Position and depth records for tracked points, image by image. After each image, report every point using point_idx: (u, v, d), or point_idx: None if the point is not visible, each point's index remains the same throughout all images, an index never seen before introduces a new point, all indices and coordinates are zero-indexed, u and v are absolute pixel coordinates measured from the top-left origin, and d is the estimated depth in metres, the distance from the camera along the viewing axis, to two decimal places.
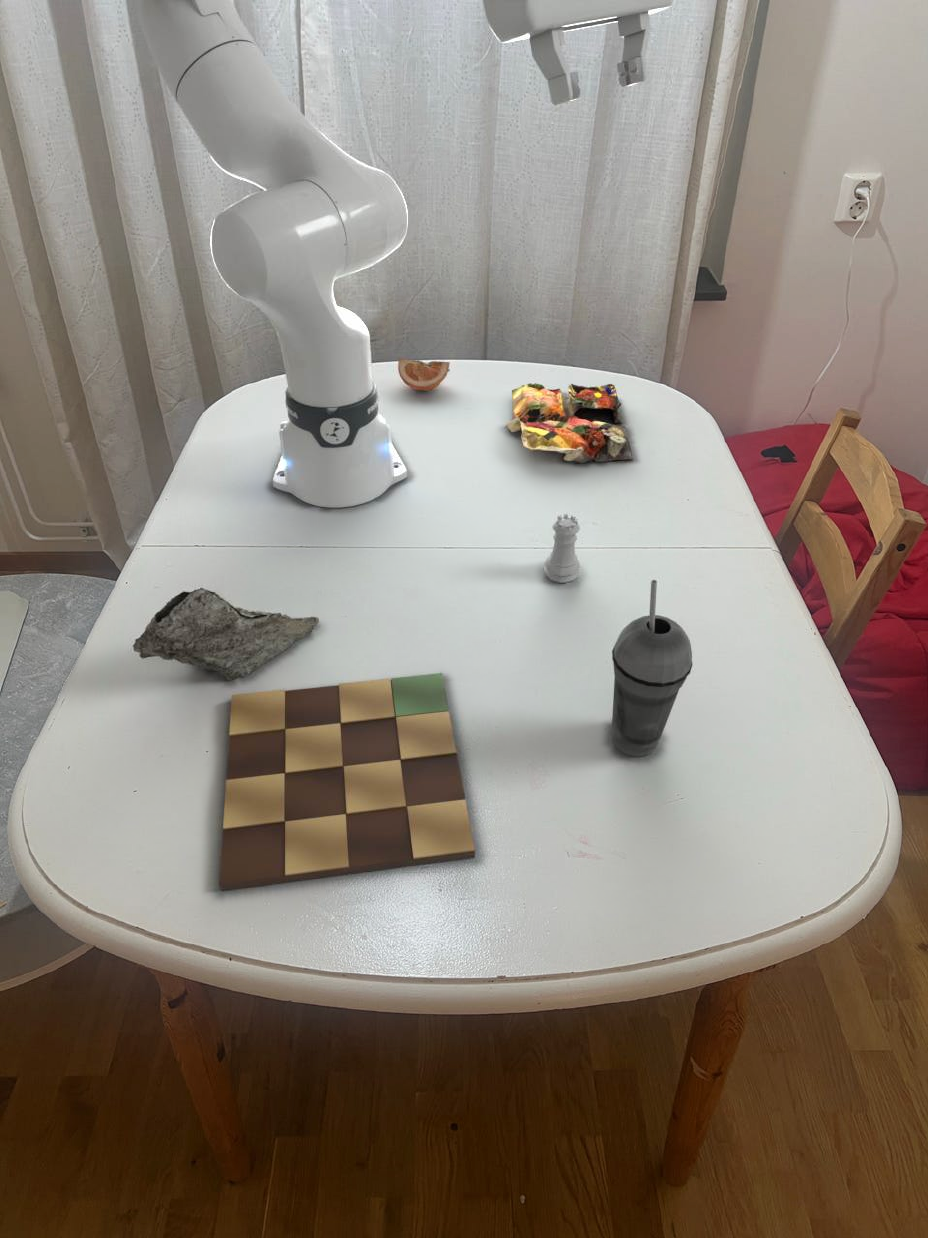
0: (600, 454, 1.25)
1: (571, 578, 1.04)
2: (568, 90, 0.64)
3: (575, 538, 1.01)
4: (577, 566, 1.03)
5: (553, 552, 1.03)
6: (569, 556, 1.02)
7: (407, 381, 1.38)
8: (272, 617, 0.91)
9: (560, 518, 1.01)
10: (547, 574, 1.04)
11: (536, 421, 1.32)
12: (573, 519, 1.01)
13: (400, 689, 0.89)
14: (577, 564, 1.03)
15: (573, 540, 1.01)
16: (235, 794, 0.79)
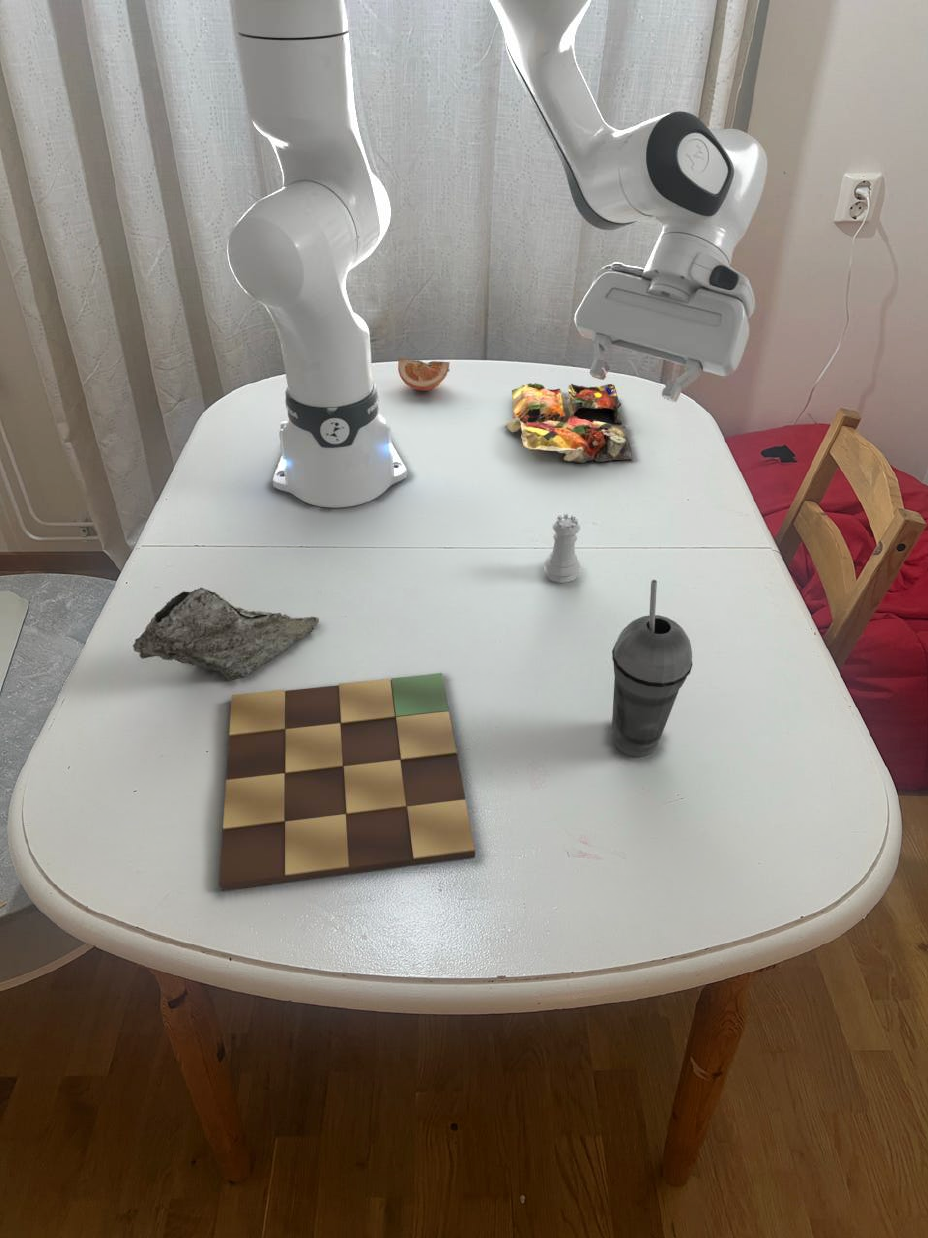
0: (600, 454, 1.25)
1: (571, 578, 1.04)
2: None
3: (575, 538, 1.01)
4: (577, 566, 1.03)
5: (553, 552, 1.03)
6: (569, 556, 1.02)
7: (407, 381, 1.38)
8: (272, 617, 0.91)
9: (560, 518, 1.01)
10: (547, 574, 1.04)
11: (536, 421, 1.32)
12: (573, 519, 1.01)
13: (400, 689, 0.89)
14: (577, 564, 1.03)
15: (573, 540, 1.01)
16: (235, 794, 0.79)
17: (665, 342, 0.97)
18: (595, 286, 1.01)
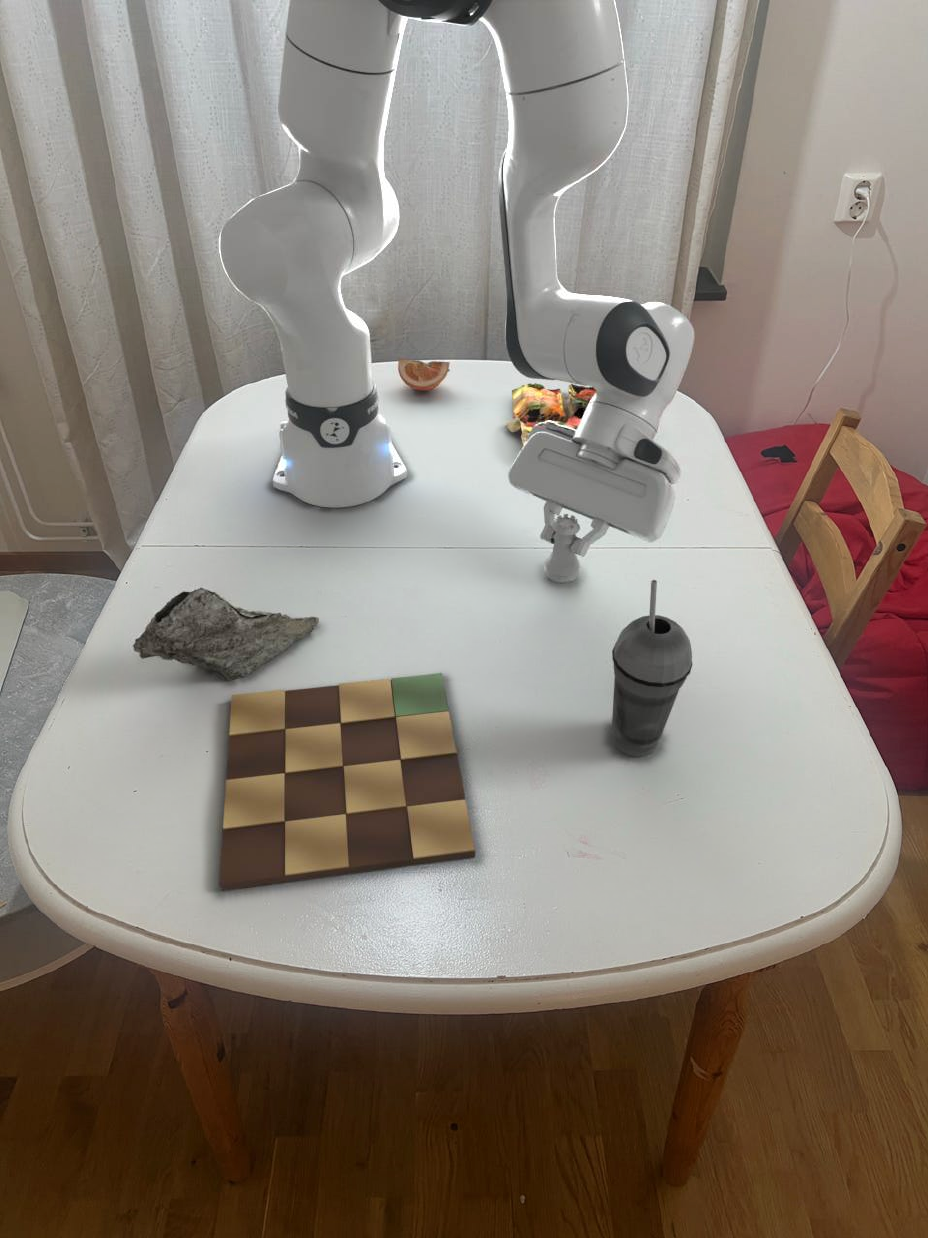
0: None
1: (571, 578, 1.04)
2: None
3: None
4: (577, 566, 1.03)
5: (553, 552, 1.03)
6: (569, 556, 1.02)
7: (407, 381, 1.38)
8: (272, 617, 0.91)
9: (560, 518, 1.01)
10: (547, 574, 1.04)
11: (536, 421, 1.32)
12: (573, 519, 1.01)
13: (400, 689, 0.89)
14: (577, 564, 1.03)
15: (573, 540, 1.01)
16: (235, 794, 0.79)
17: (593, 508, 0.99)
18: (528, 445, 1.04)
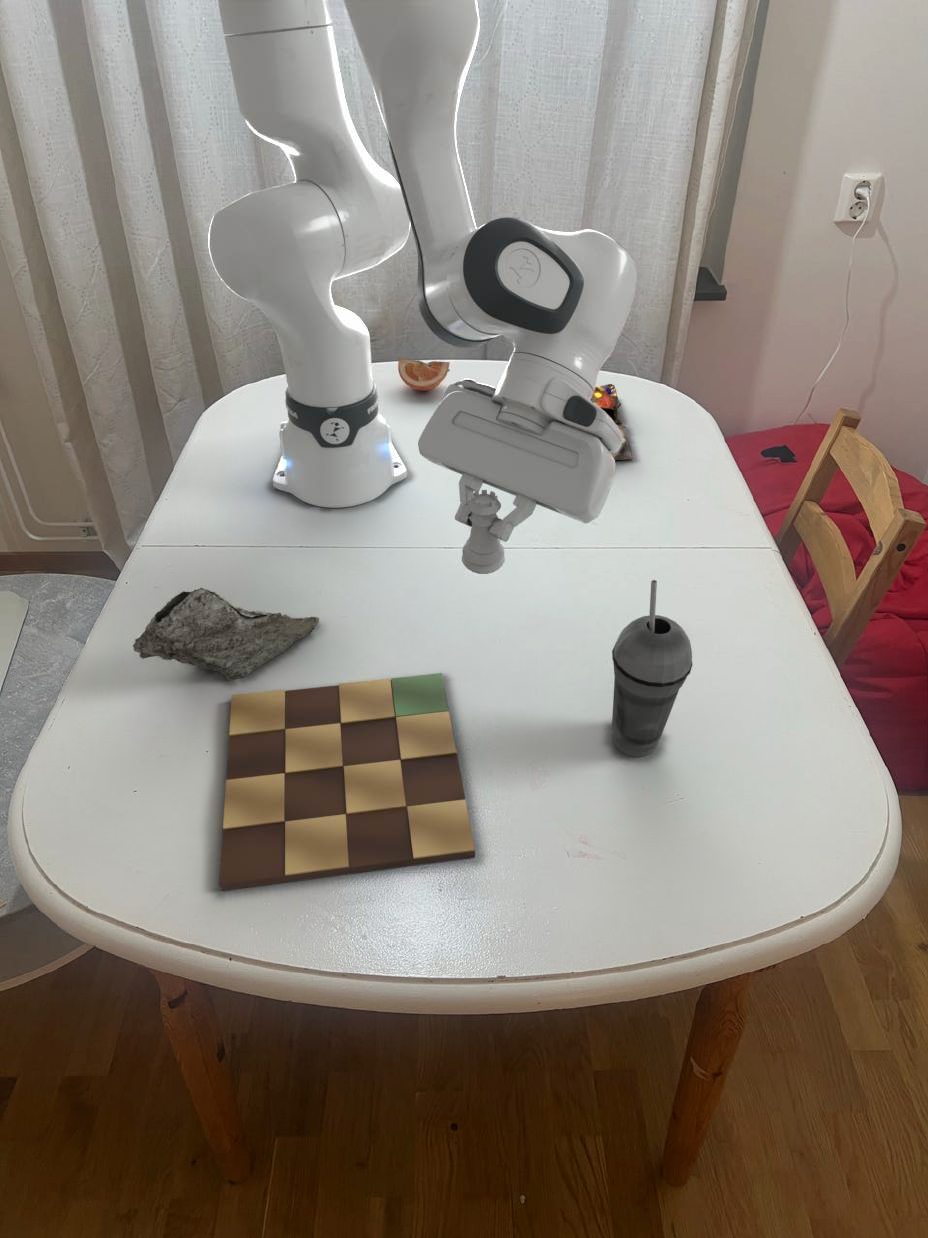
0: None
1: (494, 568, 0.86)
2: (509, 536, 0.84)
3: None
4: (500, 553, 0.86)
5: (471, 536, 0.85)
6: (489, 541, 0.84)
7: (407, 381, 1.38)
8: (272, 617, 0.91)
9: (477, 495, 0.83)
10: (465, 563, 0.86)
11: None
12: (493, 496, 0.83)
13: (400, 689, 0.89)
14: (500, 551, 0.86)
15: (493, 521, 0.83)
16: (235, 794, 0.79)
17: (516, 482, 0.81)
18: (441, 408, 0.86)
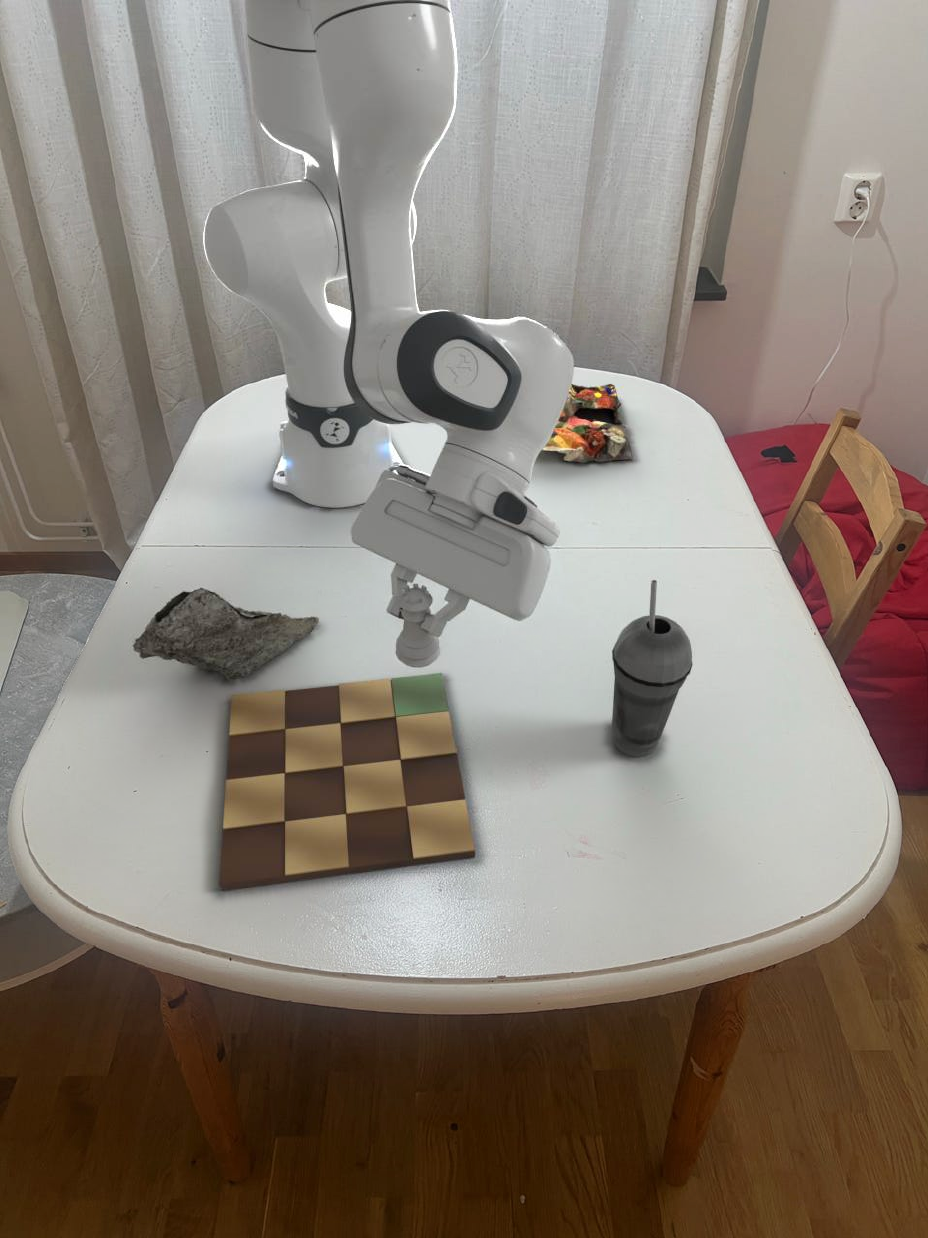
0: (600, 454, 1.25)
1: (427, 662, 0.83)
2: (442, 631, 0.81)
3: None
4: (434, 647, 0.83)
5: (403, 630, 0.82)
6: (422, 636, 0.81)
7: None
8: (272, 617, 0.91)
9: (408, 589, 0.80)
10: (398, 656, 0.83)
11: None
12: (424, 590, 0.80)
13: (400, 689, 0.89)
14: (435, 644, 0.83)
15: None
16: (235, 794, 0.79)
17: (447, 578, 0.78)
18: (374, 496, 0.83)
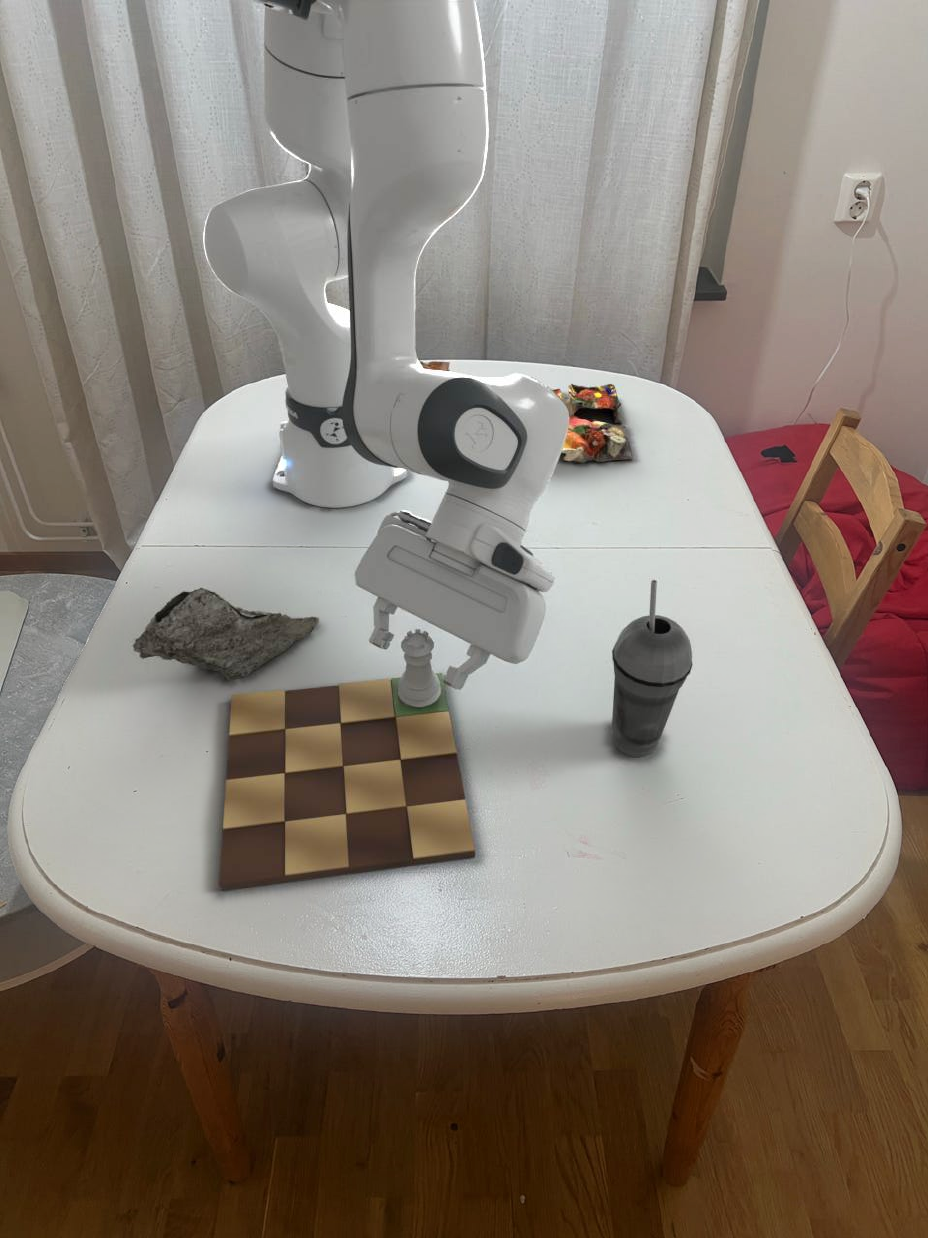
0: (600, 454, 1.25)
1: (428, 702, 0.87)
2: (463, 683, 0.83)
3: (429, 658, 0.84)
4: (435, 688, 0.86)
5: (405, 672, 0.86)
6: (423, 678, 0.85)
7: None
8: (272, 617, 0.91)
9: (410, 634, 0.84)
10: (401, 696, 0.87)
11: None
12: (426, 636, 0.84)
13: None
14: (435, 685, 0.87)
15: (426, 660, 0.84)
16: (235, 794, 0.79)
17: (446, 623, 0.82)
18: (377, 541, 0.87)
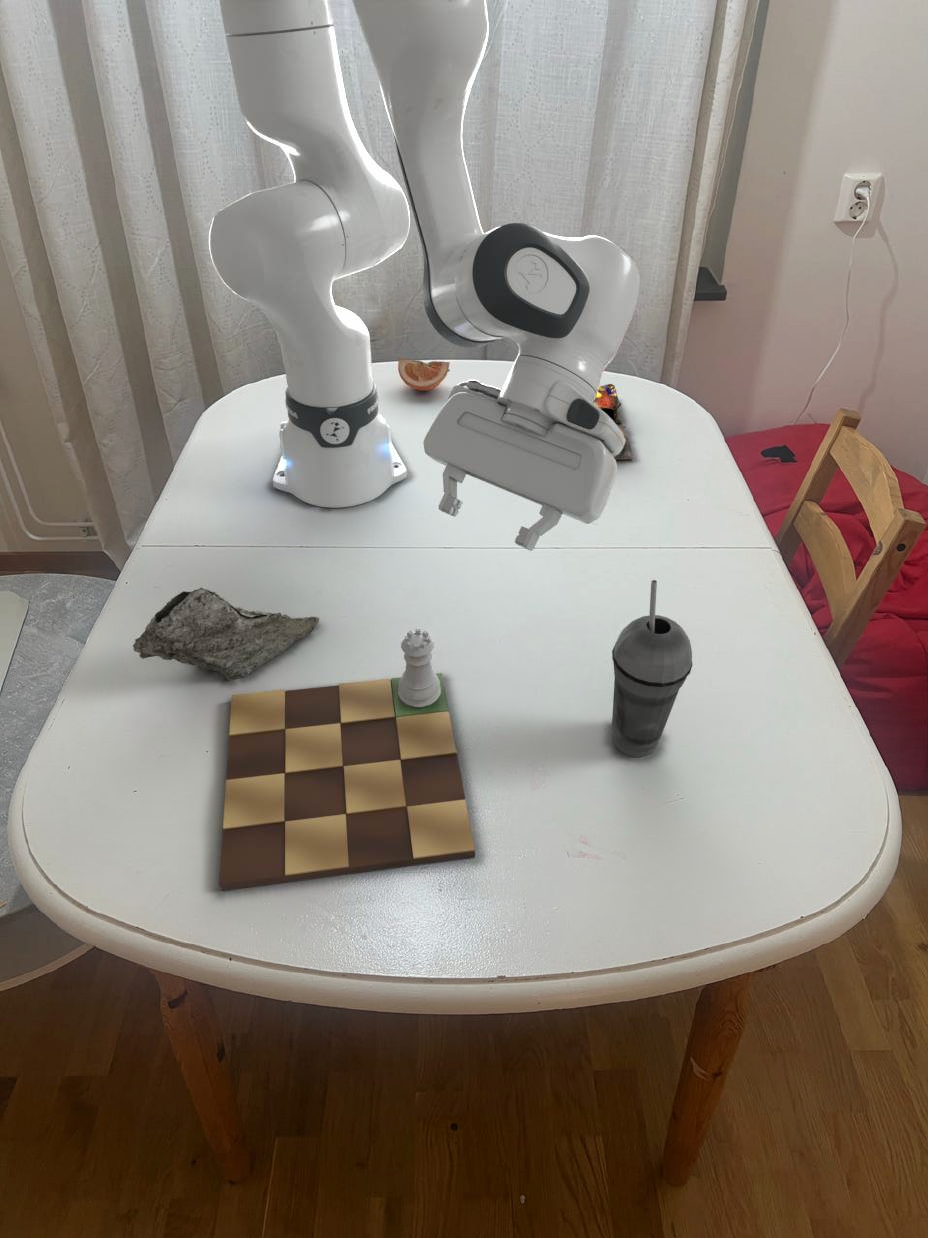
0: None
1: (429, 702, 0.87)
2: (534, 545, 0.84)
3: (429, 658, 0.84)
4: (435, 688, 0.86)
5: (405, 672, 0.86)
6: (423, 678, 0.85)
7: (407, 381, 1.38)
8: (272, 617, 0.91)
9: (410, 634, 0.84)
10: (401, 696, 0.87)
11: None
12: (426, 636, 0.84)
13: None
14: (436, 685, 0.87)
15: (426, 660, 0.84)
16: (235, 794, 0.79)
17: (519, 483, 0.83)
18: (446, 408, 0.88)
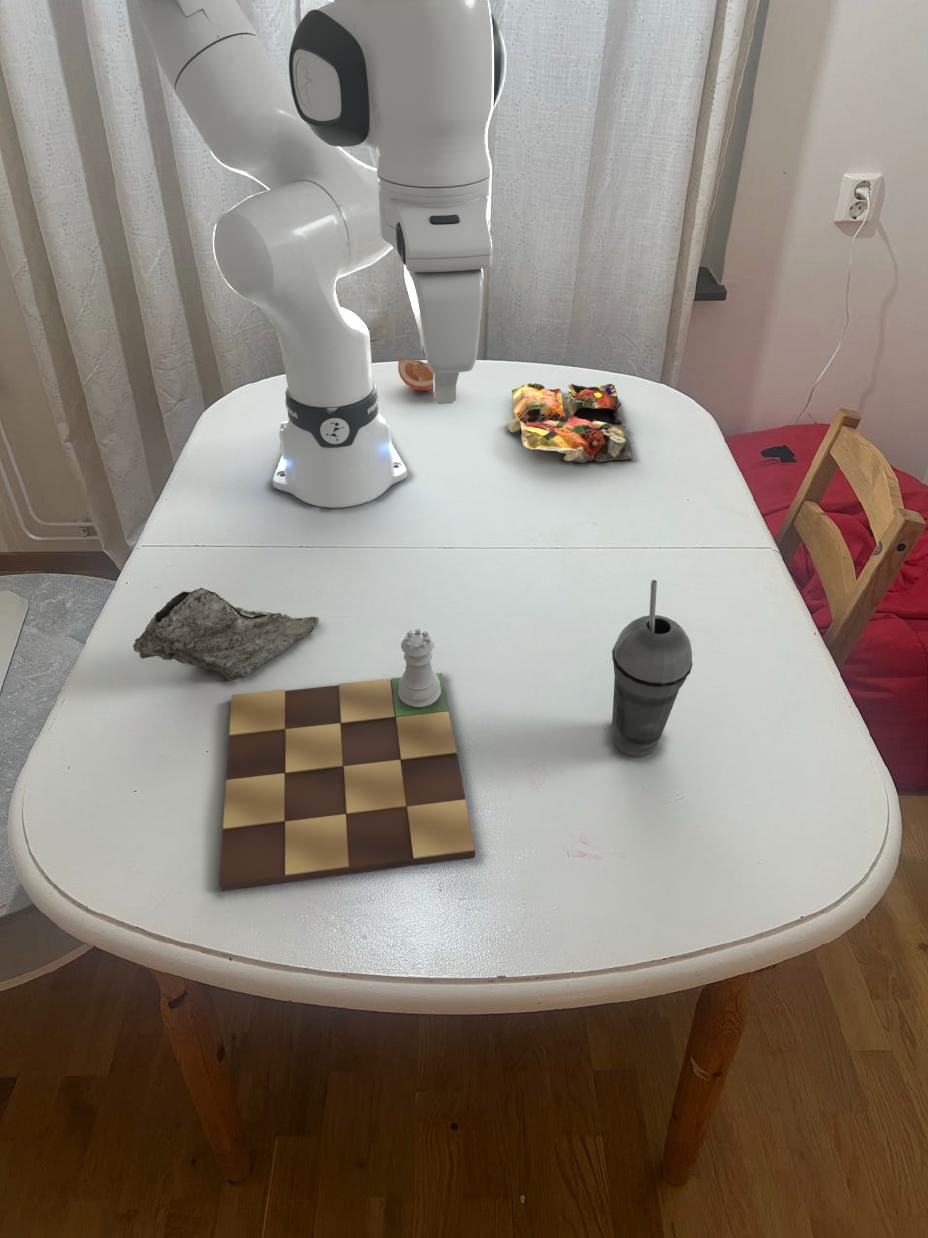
0: (600, 454, 1.25)
1: (429, 702, 0.87)
2: (455, 395, 0.72)
3: (429, 658, 0.84)
4: (435, 688, 0.86)
5: (405, 672, 0.86)
6: (423, 678, 0.85)
7: (407, 381, 1.38)
8: (272, 617, 0.91)
9: (410, 634, 0.84)
10: (401, 696, 0.87)
11: (536, 421, 1.32)
12: (426, 636, 0.84)
13: None
14: (435, 685, 0.87)
15: (426, 660, 0.84)
16: (235, 794, 0.79)
17: (418, 327, 0.71)
18: None
